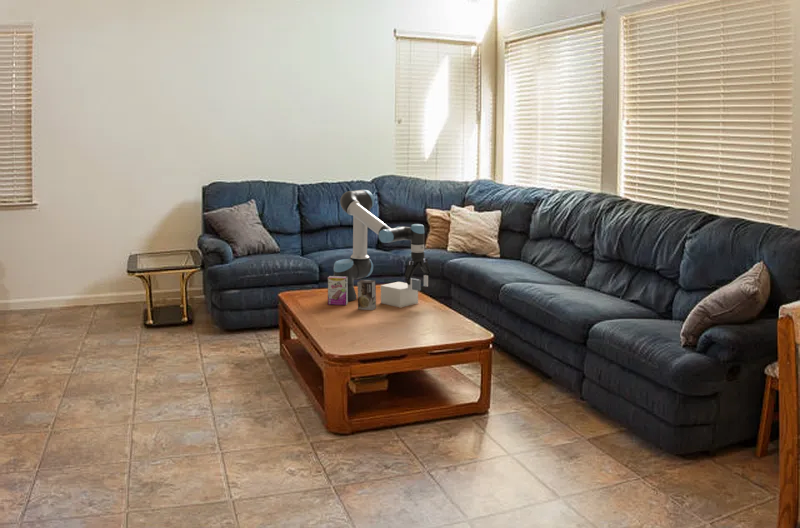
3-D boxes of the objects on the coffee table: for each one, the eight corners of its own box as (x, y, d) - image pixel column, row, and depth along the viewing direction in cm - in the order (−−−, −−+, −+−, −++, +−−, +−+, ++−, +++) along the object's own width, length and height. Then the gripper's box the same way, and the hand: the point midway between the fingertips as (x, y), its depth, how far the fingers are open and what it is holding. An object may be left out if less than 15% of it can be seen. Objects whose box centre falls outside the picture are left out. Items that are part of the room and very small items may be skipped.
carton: (380, 303, 457) (380, 286, 455) (398, 298, 468) (398, 282, 466) (400, 307, 446) (400, 290, 444) (418, 303, 457) (418, 286, 455)
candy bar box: (327, 305, 452) (327, 277, 449) (329, 303, 457) (328, 275, 454) (346, 305, 451) (346, 277, 448) (348, 303, 456) (347, 276, 453)
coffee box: (376, 307, 445) (376, 280, 442) (372, 310, 439) (372, 282, 436) (361, 306, 448) (361, 279, 445) (357, 309, 442) (357, 281, 439)
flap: (380, 286, 455) (380, 276, 454) (398, 282, 466) (398, 272, 465) (410, 292, 439) (410, 282, 438) (428, 288, 449) (428, 278, 448)
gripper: (407, 254, 430) (407, 292, 433) (437, 249, 447) (437, 285, 451) (397, 253, 435) (398, 290, 438) (427, 248, 452) (427, 283, 456)
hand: (417, 288), depth 445 cm, fingers open, 13 cm apart
